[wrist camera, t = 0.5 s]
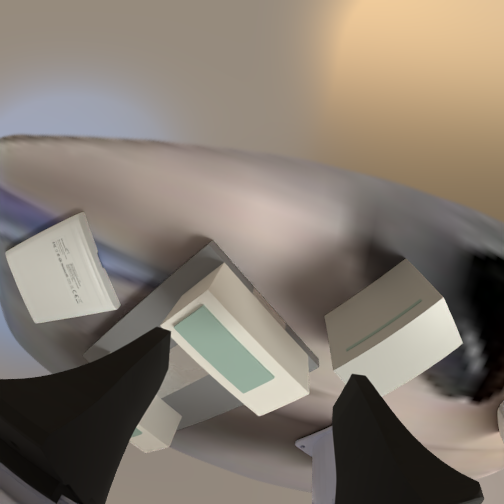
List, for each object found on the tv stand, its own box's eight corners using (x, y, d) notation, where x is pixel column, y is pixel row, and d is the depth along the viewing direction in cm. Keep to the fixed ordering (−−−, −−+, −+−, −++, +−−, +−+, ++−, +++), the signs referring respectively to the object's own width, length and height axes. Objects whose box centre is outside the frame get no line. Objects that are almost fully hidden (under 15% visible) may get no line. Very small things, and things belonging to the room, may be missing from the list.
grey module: (427, 298, 19) (463, 343, 13) (352, 350, 21) (365, 406, 15) (405, 257, 18) (443, 296, 12) (323, 314, 20) (332, 370, 14)
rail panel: (318, 358, 21) (322, 407, 16) (171, 426, 27) (156, 462, 22) (212, 239, 19) (186, 269, 14) (87, 349, 25) (59, 381, 20)
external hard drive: (14, 247, 23) (88, 209, 20) (44, 317, 25) (124, 302, 23) (4, 252, 21) (75, 213, 19) (35, 324, 24) (115, 312, 21)
